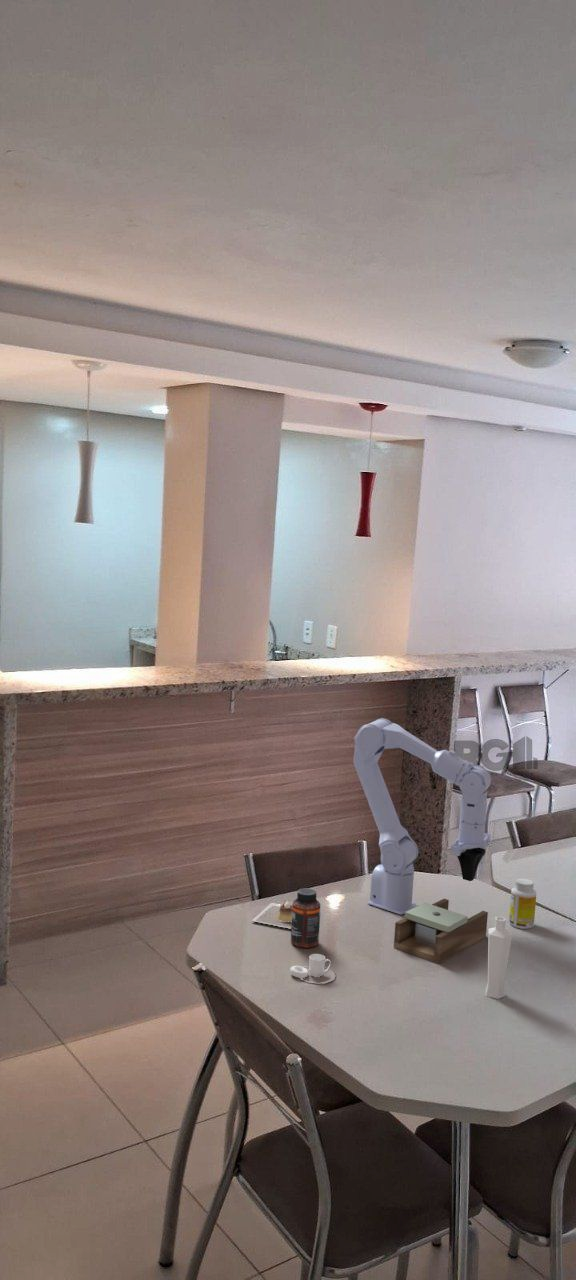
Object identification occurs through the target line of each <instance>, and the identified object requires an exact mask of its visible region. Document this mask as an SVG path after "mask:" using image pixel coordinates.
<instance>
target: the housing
mask: <svg viewBox="0 0 576 1280" xmlns="http://www.w3.org/2000/svg"><path fill="white" fill-rule="evenodd" d="M449 900H450V899H447V898H443V899H440V900H438V901H436V902H434V903H432V904H431V905H434V906H437V907H440V908H443V909H446V910H449V903H450V901H449ZM488 913H489V912H488V911H485V910H482V911H480V912H478V913H476V914H473V915H472V916H470V917H469V918H468V920H467V923H465V924H463V925H461V926H460V927H458V928H456V929H454V930H452V931H450V932H445V931H444V932H442V933H441V934H439V935H437V936H436V939H435V948H432V947H429V946H427V945H424V944H421V943H418V942H415V927H416V923H417V922H415V921H412V920H409V919H406V918H405V917H403V918H401V919H399V920H397V921H395V924H394V939H393V940H394V941H393V948H395V949H397V950H399V951H402V952H405V953H409V954H411V955H414V956H416V957H418V958H419V957H420V958H421V959H425V960H426V961H430V962H433V963H436V964H438V965H439V964H441V963H442V962H444V961H446V960H448V959H450V958H451V957H453V956H454V955H457V954H458V953H459V952H461V951H463V950H465V949H467V948H469V947H470V946H472V945H473V944H475V943H478V942H479V941H480V940H482V939H484V938H486V937H487V930H488V929H487V928H488V915H489V914H488Z"/></svg>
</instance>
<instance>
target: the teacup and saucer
mask: <svg viewBox="0 0 576 1280" xmlns="http://www.w3.org/2000/svg"><path fill="white" fill-rule="evenodd" d="M308 958H309V959H308V966H309V969H308V970H307V969H306V968H304V967H305V966H301V965H292V966H291V967H290V968H289V972H290V974H291V975H292V976H294V977H295V978H297V977H298V978H304V979H306V978H307V977H308V976H309V975H310V976H311V977H312V976H314V977H313V978H316V977H318V978H320V976H321V977H322V976H323V975H324V974H326V973H328V972H327V971H328V969H330V967H331V966H332V965H331V964H332V961H331V960H330V959H328V958H326V956H325V955H324V954H320V953H312V954H310V955H309V957H308ZM326 962H329V965H328V967H326V968H327V969H326V970H325V971H324V967H325V965H326V964H325V963H326ZM305 977H306V978H305ZM298 978H297V979H298Z"/></svg>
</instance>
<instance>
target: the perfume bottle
mask: <svg viewBox="0 0 576 1280" xmlns="http://www.w3.org/2000/svg"><path fill="white" fill-rule="evenodd" d="M494 918H495V925H494V927H493V926H492V927H490V928H488V935H487V936H488V938H487V939H488V944H487V945H488V946H487V949H488V950H487V985H486V988H485V990H484V992H485V996H486V997H489V998H492V999H496V1000H500V999H501V998H504V997H505V996H506V993H505V984H506V983H505V982H506V977H507V976H506V975H507V970H508V964H509V963H508V962H509V957H510V952H511V951H510V950H511V946H512V945H511V944H512V938H513V934H512V933H511V932H510V931H508V929H506V922H507V918H505V917H503V916H495V917H494Z"/></svg>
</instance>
